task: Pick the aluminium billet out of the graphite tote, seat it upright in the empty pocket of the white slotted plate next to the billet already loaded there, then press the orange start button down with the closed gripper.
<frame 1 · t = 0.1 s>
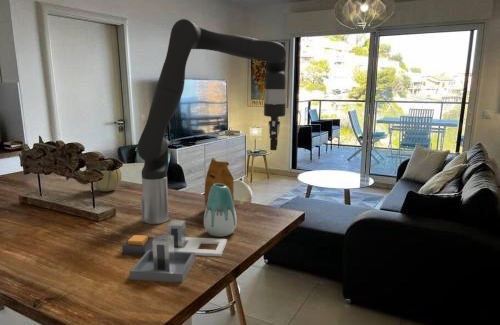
hand: (273, 148, 133), 29 cm above the table, tool pointing down, fingers open, 8 cm apart
tote: (164, 272, 102), on the table
vase: (220, 233, 130), on the table
start button: (138, 241, 113), point 4 cm above the table, slide at 0.0 cm
cantaloupe: (106, 191, 183), on the table
billet: (164, 268, 102), point 1 cm above the table, touching tote
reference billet: (177, 249, 117), resting in white slotted plate
coffee package: (218, 212, 153), on the table
button housing: (138, 253, 114), on the table
white slotted plate: (192, 250, 116), on the table
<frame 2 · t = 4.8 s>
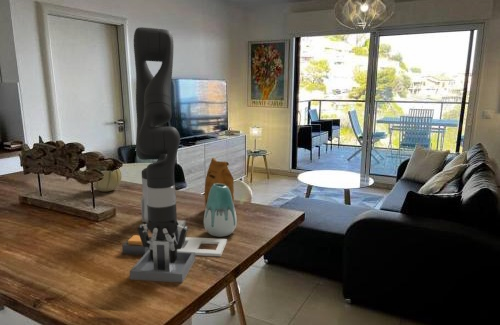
hand: (164, 261, 101), 4 cm above the table, tool pointing down, fingers closed on billet, 4 cm apart
billet: (164, 268, 102), point 1 cm above the table, touching gripper, tote
everything else where it was.
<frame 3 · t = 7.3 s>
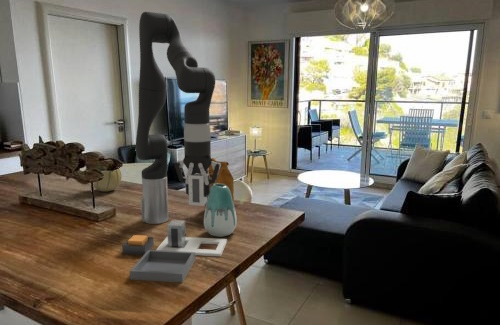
hand: (198, 195, 110), 19 cm above the table, tool pointing down, fingers closed on billet, 4 cm apart
billet: (198, 203, 110), point 17 cm above the table, touching gripper
everything else where it was.
when the fingers open (3 cm above the table, at t = 10.2 s): billet stays where it is, resting in white slotted plate.
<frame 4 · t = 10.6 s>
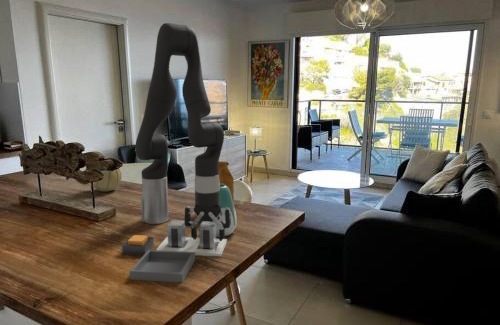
hand: (208, 239, 115), 4 cm above the table, tool pointing down, fingers open, 8 cm apart
billet: (208, 251, 116), resting in white slotted plate
everything else where it was.
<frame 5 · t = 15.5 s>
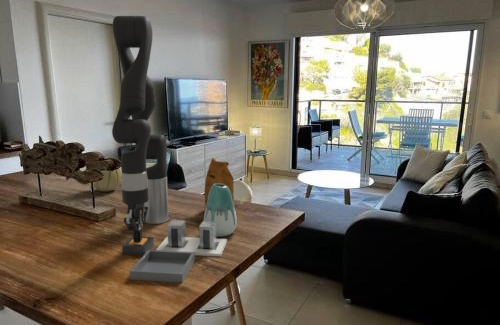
hand: (137, 241, 113), 4 cm above the table, tool pointing down, fingers closed
start button: (138, 244, 113), point 3 cm above the table, slide at 0.9 cm, touching gripper
everything else where it was.
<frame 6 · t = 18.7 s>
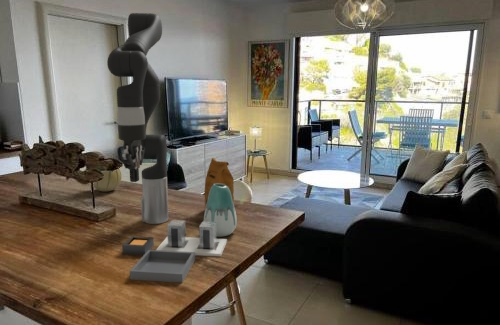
hand: (134, 181, 110), 23 cm above the table, tool pointing down, fingers closed
start button: (138, 246, 114), point 2 cm above the table, slide at 1.5 cm
everything else where it was.
at the end: billet 0.0 cm from the target spot on the white slotted plate, point 0.0 cm above the white slotted plate's base; billet tilted 0°; start button slide at 1.5 cm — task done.
